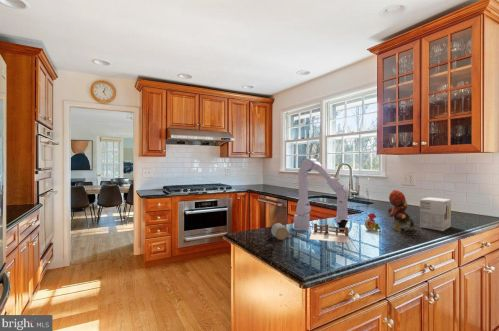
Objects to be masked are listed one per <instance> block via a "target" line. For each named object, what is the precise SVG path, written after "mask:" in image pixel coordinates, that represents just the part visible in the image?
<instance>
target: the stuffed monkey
mask: <svg viewBox="0 0 499 331" xmlns="http://www.w3.org/2000/svg"><path fill="white" fill-rule="evenodd" d="M406 199H407V198H406V197H405V194H404V193H403V191H400V190H398V189H397V190H396V189H393V190H392V191H391V192H390V194H389V196H388V200H389V203H390V204H391V205H392V206H393V208H392V207H389V208H388V210H387V215H388V217H389V218H394V220H393V221H394V222H393V227H394V228H395V230H396V232H398V233H400V232H406V231H408V230H410V229H414V228H421V227H420V226H418V225H414V224H415V222H414V221H413V219H412V218H411V217H410V215H409V214H408V213H407V212H406V210H407V209H408V206H407V205H408V201H407V200H406ZM391 212H392V213H391ZM408 223H409V226H408V227H406V228H405V229H404V230H402V229H401V227H402V226H403V227H404V225H405V226H407V224H408Z"/></svg>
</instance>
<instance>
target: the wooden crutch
mask: <svg viewBox="0 0 499 331" xmlns="http://www.w3.org/2000/svg"><path fill="white" fill-rule="evenodd" d="M334 229H335V230H334ZM339 229H341V230H345V231H344V232H342V231H340V230H339ZM328 230H329V232H335V233H336V234H338V233H342V234H345V236H348V237H349V227H347V226H346V227H345V228H341V227H339V226H332V225H328Z"/></svg>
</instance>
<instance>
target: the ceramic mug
mask: <svg viewBox="0 0 499 331" xmlns="http://www.w3.org/2000/svg"><path fill="white" fill-rule="evenodd" d="M270 229H271V230H270V231H271V232H270V233H271V234H272V235H273V236H274V237H275V238H276V239H278V240H279V241H284V240H286V239H287V238H288V239H292V238H293V235H292V234H290V233H289V231H288V229H287V228H286V227H285V225H283V224H282V223H280V222H277V223H274V224H273V225H272V227H271V228H270Z"/></svg>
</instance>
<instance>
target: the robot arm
mask: <svg viewBox="0 0 499 331" xmlns="http://www.w3.org/2000/svg"><path fill="white" fill-rule="evenodd" d="M311 171H315V172H318V173H319V175H321V176H322V177H323V178H324V179H325V180H326V184H327V185H328V187H329V188H330V189H331V190H332V191H333V192H334V193H335V196H336V219H335V222H336V223H337V227H341V228H345V227H347V224H348V222H349V219H350V216H348V212H349V211H348V209H349V208H348V206H349V202H348V201H349V200H348V197H349V194H350V191H349V189H348V187H345V186H344V184H342V183H341V182H340V181H339V178H336V177H333V176H332V175H331V174H330V173H329V172H328V171H327V170H326V169H325V168H324V166H323V165H322V164H321V162H319V161H318V160H317V159H316V158H305V159H304V160H303V161H302V162H301V165H300V167H299V169H298V201H297V204H296V207H295V212H296V214H294V215H293V230H296V231H307V232H308V231H309V232H310V231H311V227H310V216H311V215H310V213H311V211H312V206H311V205H310V200H309V196H308V193H309V192H308V190H309V189H308V174H309V173H310V172H311ZM338 231H342V232H345V230H341V229H338Z"/></svg>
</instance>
